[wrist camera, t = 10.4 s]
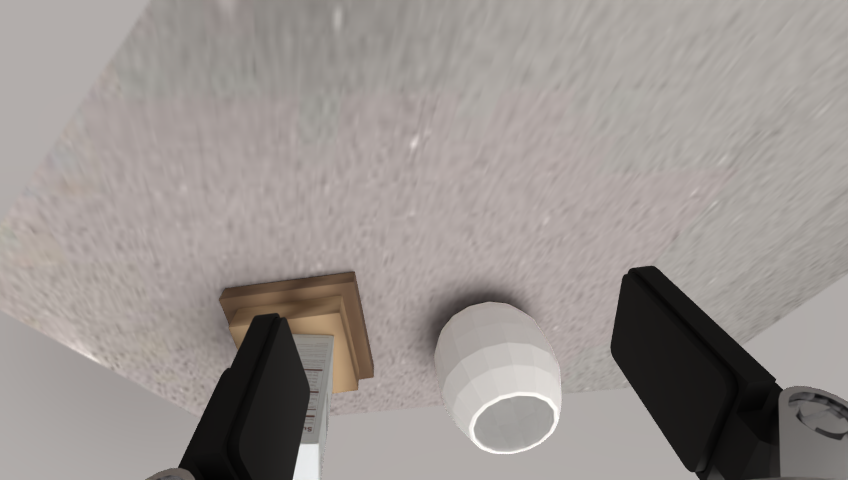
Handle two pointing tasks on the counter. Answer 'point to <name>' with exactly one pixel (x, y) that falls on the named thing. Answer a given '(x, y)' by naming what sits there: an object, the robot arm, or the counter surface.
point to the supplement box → (315, 402)
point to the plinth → (306, 293)
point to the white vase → (498, 377)
